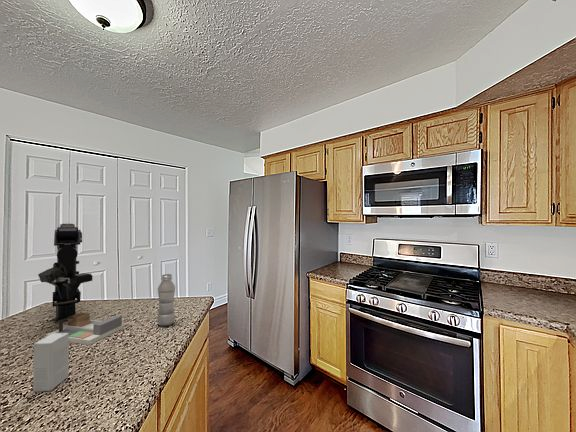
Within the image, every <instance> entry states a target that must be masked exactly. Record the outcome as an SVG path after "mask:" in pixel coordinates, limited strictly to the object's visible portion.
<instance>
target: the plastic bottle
mask: <svg viewBox="0 0 576 432" xmlns="http://www.w3.org/2000/svg"><path fill="white" fill-rule="evenodd" d="M172 280H173V274H169V273H168V274H167V273H166V274H165V273H164V274H162V275H161V282H160V283H159V285H158V287H157V297H158V312H157V317H156V319H157V324H158V325H159V327H167V326H170V325H173V324H174V322H175V321H176V320H175V319H176V313H175V306H174V301H175V293H176V285H175V283H174V282H173V281H172Z"/></svg>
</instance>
